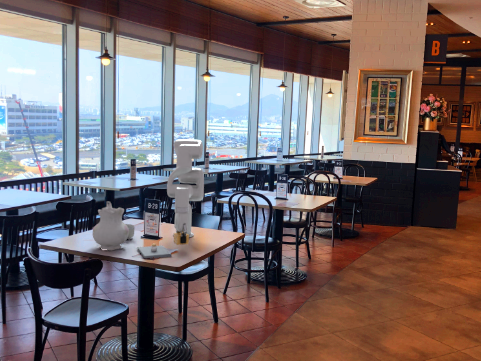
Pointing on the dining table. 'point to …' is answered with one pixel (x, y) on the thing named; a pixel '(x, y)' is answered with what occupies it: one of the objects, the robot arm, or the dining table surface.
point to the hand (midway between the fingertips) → (181, 241)
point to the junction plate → (154, 251)
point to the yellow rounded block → (177, 238)
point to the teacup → (130, 230)
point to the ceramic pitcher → (110, 228)
